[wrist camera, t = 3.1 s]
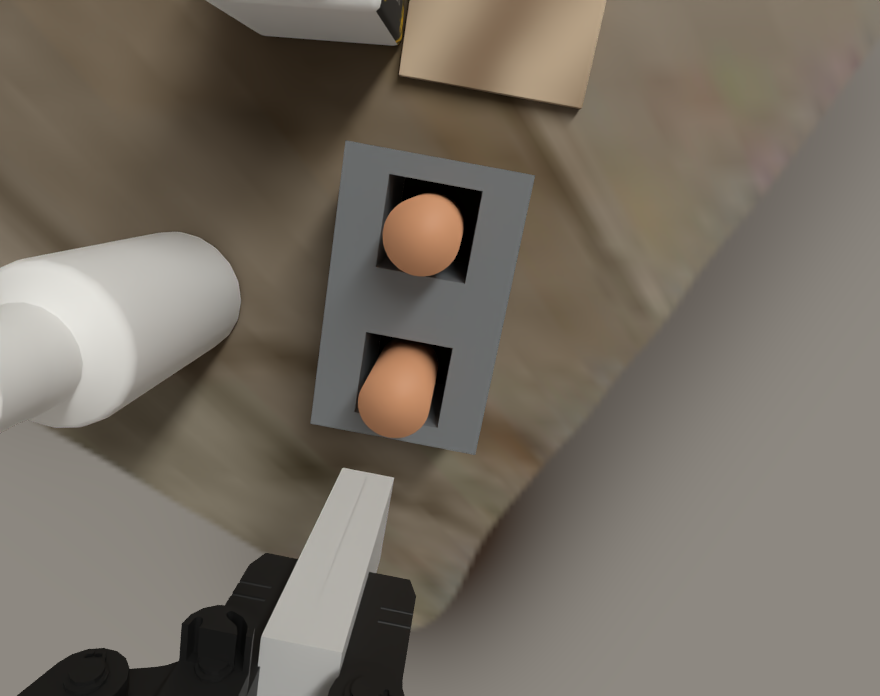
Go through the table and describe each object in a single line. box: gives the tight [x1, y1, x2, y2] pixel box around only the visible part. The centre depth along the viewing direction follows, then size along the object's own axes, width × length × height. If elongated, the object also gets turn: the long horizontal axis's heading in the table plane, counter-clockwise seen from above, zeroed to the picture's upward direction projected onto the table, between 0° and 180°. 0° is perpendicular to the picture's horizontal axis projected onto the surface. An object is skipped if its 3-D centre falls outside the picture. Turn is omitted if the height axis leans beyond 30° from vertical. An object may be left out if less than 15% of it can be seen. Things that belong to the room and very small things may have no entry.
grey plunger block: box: [310, 141, 535, 455], centre depth 30 cm, size 8×13×6 cm, turn 170°
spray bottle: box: [0, 232, 241, 433], centre depth 25 cm, size 7×7×18 cm
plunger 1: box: [383, 192, 464, 276], centre depth 26 cm, size 3×3×6 cm
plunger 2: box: [358, 338, 438, 438], centre depth 28 cm, size 3×3×6 cm
